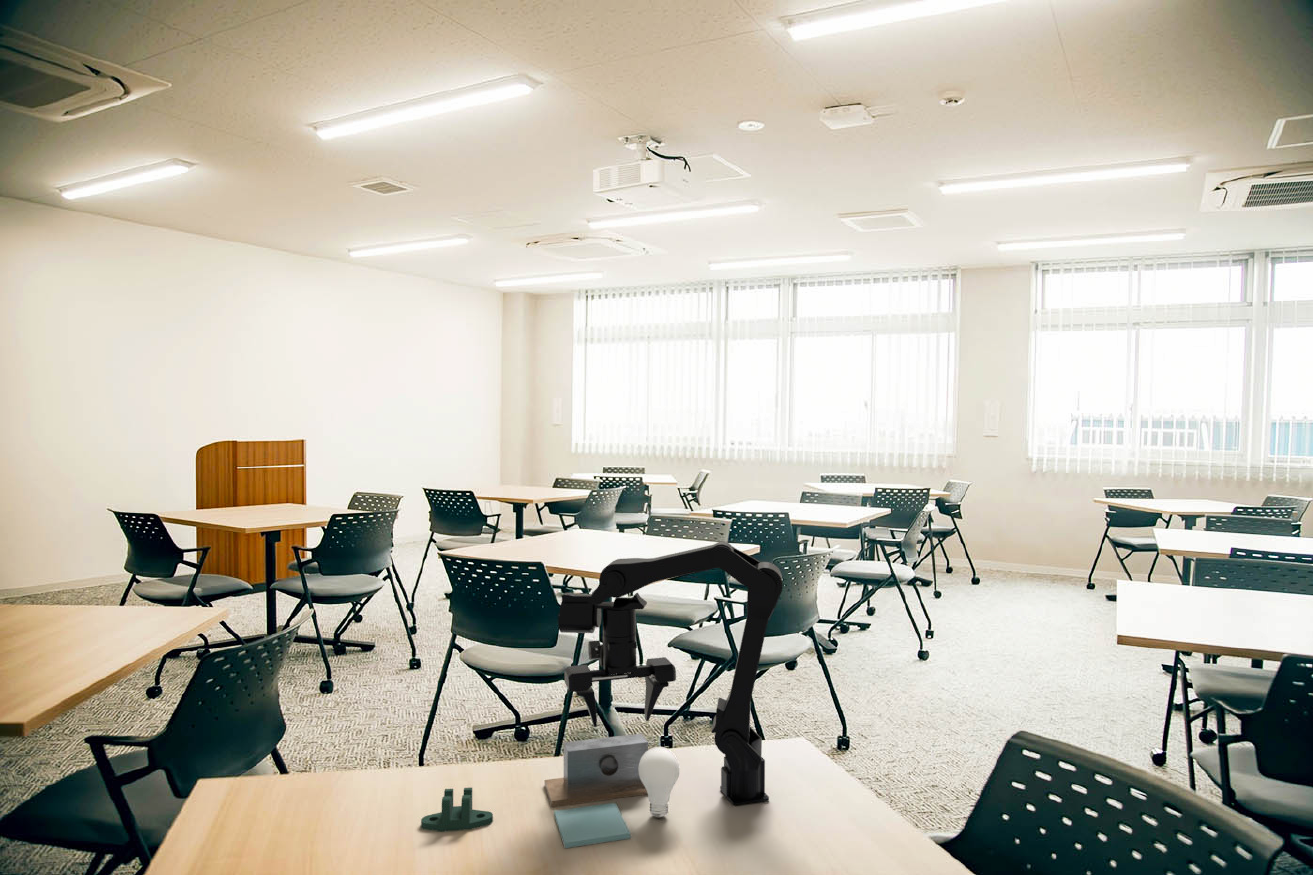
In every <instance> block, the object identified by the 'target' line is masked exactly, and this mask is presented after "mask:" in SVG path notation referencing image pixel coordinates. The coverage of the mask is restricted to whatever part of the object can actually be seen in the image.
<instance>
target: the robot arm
mask: <svg viewBox="0 0 1313 875" xmlns="http://www.w3.org/2000/svg"><path fill="white" fill-rule="evenodd" d="M715 569H720V570H722V571H723V572H725V573H726V574H728V575H729V576H730V577H731V578H733V579H734V580H735V581H736V582H738V583H740V584H741V585H743V586H744V587H745V588H747V595H746V619H745V623H744V627H743V632H742V637H741V640H740V645H739V646H740V647H739V650H738V655H737V660H736V664H735V670H734V674H733V678H732V684H731V687H730V691H729V693H728V695H727V697H726V699H724V698H722V697H718V700H717V704H716V709H715V710H716V712H715V713H716V714H715V715H714V717H713V722H712V725H711V734H714V744H715V746H716V748H717V749H718V750H719V751H720V753H722V754H723V755H724V756H723V766H722V767H720V771H721V772H720V779H721V780H720V787H719V789H720V791H721V792H722V793H723V794H724V795H725V797H726V798H727V799H728V801H729V802H730V803H731V804H732V805H734V806H739V805H748V804H753V803H760V802H761V803H762V802H767V801H769V800H770V796H769V795H768V794H767V793H766V784H765V783H766V782H765V781H766V778H765V777H766V774H765V772H766V760H765V758H764V757H763V756H762V752H763V751H762V749H763V748H762V747H763V746H762V742H763V738H762V737H761V736H760V735H759V734H758V733H757V732H756V731H755V730H754V729H753V728H752V727H751V704H752V702H751V700H752V696H753V692H754V689H755V688H754V687H755V682H756V677H757V673H758V669H759V664H760V660H761V656H762V650H763V647H764V646H763V645H764V640H765V637H766V631H767V629H768V628H767V627H768V624H769V621H770V619H771V617H772V615H773V613H774V610H775V609H776V606H777V604H778V602H779V599H780V596H781V595H782V591H783V588H784V586H783V584H784V583H783V575H782V572H781V569H780V568H779V567H778V566H776V565H775V564H774V563H772V562H769V561H759V560H758V559H756V558H754V557H752V555H749V554H747V553H745V552H743V551H742V550H739V549H737V548H735V547H734V546H733V545H731V544H730V543H729V542H726V541H718V542H716V543H714V544H710V545H706V546H700V547H697V548H693V549H689V550H684V551H683V550H682V551H679V552H674V553H671V554H667V555H662V556H658V557H653V558H652V557H651V558H642V557H633V558H632V557H631V558H630V557H629V558H618V559H614V560H612V562H610V563H608V564H607V566H605V567H604V568H603V569H601V570H602V571H601V572H600V575H599V578H598V580H599V584H598V585H597V587H596V588H595V589H594V590H593V591H592V592H591V593H574V592H565V593H563V594H562V595H561V603H560V605H559V614H558V615H557V624H558V625H557V626H558V630H559V632H560V633H563V634H564V633H565V634H567V633H569V634H594V633H595V630H596V628H600V627H601V624H602V644H601V642H600V640H599V639H597V640H590V641H588V642H587V643H588V647H587V648H588V651H587V652H588V660H591V661H592V660H598V662H599V666H600V667H601V668H602V667H603V669H593V670H591V669H590V668H589V666H588V664H581V665H571V666H570V665H569V666H567V667H566V668H565V669H564V684H565V686H566V687H567V690H568V692H571V693H575V695H576V696H578V697H581V696H582V697H583V699H584V702H585V704H586V707H587V711H588V713H589V716H590V719H591V722H592V725H593V727H594V728H597V726H598V725H597V724H598V717H597V707H596V698H595V691H594V689H593V687H592V686H593V683H596V682H597V683H598V682H606V681H614V680H615V681H616V680H627V679H635V678H644V680H645V697H644V720H645V721H646V722H649V721H650V718H651V716H652V714H653V711H654V708H655V706H656V704H657V701H658V699H659V697H660V696H661V693H662V692H663V689H664V688H667V687H669V686H670V682H675V681H676V680H677V672H676V671H677V670H676V667H675V666H676V665H674V664H673V663H672V662H671V661H670V660H669V659H668V658H667V657H653V658H647V659H646V662H645V665H637V649H638V642H637V625H636V624H637V623H636V622H637V618H636V616H637V614H636V610H644V609H645V607H646V606H647V604H648V602H647V601H646V600H645V599H644V598H642V597H641V595H640V594H639V592H636V591H638V590H640V589H641V588H642V589H643V588H644V587H646V586H648V585H651V584H653V583H655V582H659V581H664V580H668V579H673V578H678V577H682V576H687V575H691V574H695V573H699V572H705V571H710V570H715ZM634 592H636V593H635V594H634V595H633V596H632V597H627V595H629V594H631V593H634ZM624 596H626V597H624ZM610 598H615V599H614V601H607V600H608V599H610Z"/></svg>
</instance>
